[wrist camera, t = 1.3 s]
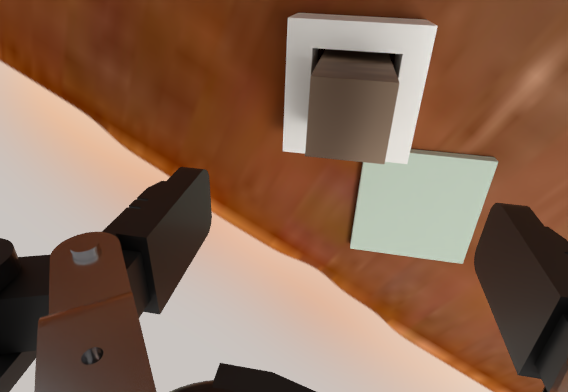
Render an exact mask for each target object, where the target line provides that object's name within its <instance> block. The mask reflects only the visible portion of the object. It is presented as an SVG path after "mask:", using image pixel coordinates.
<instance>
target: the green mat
mask: <svg viewBox="0 0 568 392" xmlns="http://www.w3.org/2000/svg"><path fill="white" fill-rule="evenodd" d="M497 164H498V161H497V160H496V158H495V157H487V156H477V155H467V154H457V153H447V152H437V151H426V150H416V149H411V150H410V154H409V159H408V163H407V164H400V163H391V162H385V164H376V163H366V162H363V164H362V170H361V177H360V183H359V190H358V196H357V203H356V209H355V216H354V222H353V229H352V235H351V242H350V248H351V249H358V250H366V251H373V252H380V253H387V254H395V255H402V256H409V257H417V258H424V259H431V260H439V261H446V262H453V263H460V264H463V261H464V258H465V256H466V253H467V250H468V247H469V244H470V241H471V238H472V236H473V233H474V230H475V227H476V224H477V221H478V218H479V216H480V213H481V210H482V207H483V204H484V201H485V198H486V196H487V193H488V190H489V187H490V184H491V181H492V178H493V176H494V173H495V170H496V167H497Z"/></svg>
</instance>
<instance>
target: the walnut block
mask: <svg viewBox="0 0 568 392" xmlns="http://www.w3.org/2000/svg"><path fill="white" fill-rule="evenodd" d="M398 89H399V80H398V78H397V75H396V72H395V70H394V67H393V64H392V62H391V59H390V56H389V54H388V53H380V52H365V51H350V50H335V49H325V51H324V53H323V55H322V56H321V58H320V60H319V62H318V64H317V65H316V67H315V69H314V71H313V73H312V75H311V78H310V92H309V106H308V120H307V135H306V149H305V156H310V157H319V158H329V159H338V160H348V161H357V162H366V163H376V164H385V159H386V153H387V148H388V142H389V137H390V132H391V126H392V121H393V116H394V110H395V105H396V99H397V94H398Z"/></svg>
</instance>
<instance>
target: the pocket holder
mask: <svg viewBox="0 0 568 392" xmlns="http://www.w3.org/2000/svg"><path fill="white" fill-rule="evenodd" d="M437 27H438V26H437V25H435V24H433V23H432V22H430V21H428V20H424V19H406V18H387V17H369V16H350V15H332V14H313V13H296V14H294V15H292V16H290V17H288V25H287V51H286V77H285V104H284V130H283V151H286V152H296V153H305V149H306V135H307V120H308V106H309V92H310V78H311V75H312V73H313V71H314V69H315V67H316V65H317V63H318V51H319V48H320V49H335V50H350V51H365V52H380V53H395V58H394V64H393V67H394V70H395V72H396V75H397V78H398V80H399V89H398V94H397V99H396V105H395V110H394V116H393V121H392V126H391V132H390V137H389V142H388V148H387V153H386V159H385V162H391V163H400V164H407V163H408V159H409V154H410V150H411V145H412V141H413V136H414V132H415V127H416V122H417V118H418V113H419V109H420V104H421V100H422V95H423V90H424V86H425V81H426V77H427V72H428V68H429V63H430V59H431V54H432V49H433V45H434V40H435V36H436V31H437Z"/></svg>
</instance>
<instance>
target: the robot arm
mask: <svg viewBox="0 0 568 392" xmlns="http://www.w3.org/2000/svg"><path fill="white" fill-rule="evenodd" d="M211 218H212V215H211V199H210V184H209V175H208V172H207V170H205V169H196V168H187V167H180V168H179V169H178V170H177V171H176V172H175V173H174V174H173V175H172V176H171V177H170V178H169V179H168V180H167V181H161V182H159V183H157V184H155V185H153V186H151V187H149V188H147V189H146V190H145V191H144V192H143V193H142V194H141V195H140V196H139V197H138V198H137V200H134V201H133V202H132V203H131V204H130V205H129V208H126V209H125V210H124V211H123V212H122V213H121V214H120V215H119V216H118V217H117V218H116V219H115V220H114V221H113V222H112V223H111V224H110V225H108V226H107V228H106V229H104V230H103V231H102V232H89V233H84V234H80V235H77V236H74V237H72V238H69V239H67V240H65V241H64V242H62V243H61V244H59V245H58V246H57V247H56V248H55V249H54V250H53V251H52V253H51V255H42V256H29V257H18V256H17V254H16V252H15V249H14V246H13V244H12V243H11V242H10V241H8V240H5V239H1V238H0V392H9V391H10V390H11V389H12V388H13V386H14V385H15V384H16V383H17V381H18V380H19V379H20V377H21V376H22V375H23V373H24V372H25V371H26V370H27V368H28V367H29V366H30V365H31V363H32V362H33V361H34V360H35V358H36V372H35V392H156V388H155V384H154V380H153V376H152V372H151V368H150V364H149V359H148V355H147V351H146V347H145V343H144V339H143V334H142V330H141V326H140V322H139V317H140V315H141V314H142V313H143V312H149V313H155V314H160V313H161V312H162V310H163V308H164V307H165V305H166V303H167V302H168V300H169V298H170V297H171V295H172V293H173V292H174V290H175V288H176V287H177V285H178V283H179V282H180V280H181V278H182V276H183V275H184V273H185V272H186V270H187V268H188V266H189V265H190V263H191V262H192V260H193V258H194V257H195V255H196V253H197V251H198V250H199V248H200V247H201V245H202V243H203V242H204V240H205V238H206V237H207V235H208V233H209V229H210V226H211ZM474 265H475V271H476V274H477V276H478V279H479V281H480V283H481V286H482V288H483V291H484V293H485V296H486V298H487V300H488V303H489V305H490V308H491V310H492V313H493V315H494V318H495V320H496V322H497V325H498V327H499V330H500V332H501V335H502V337H503V339H504V342H505V344H506V347H507V349H508V352H509V354H510V357H511V359H512V361H513V364H514V366H515V369H516V371H517V374H518V375H521V376H527V377H533V378H539V379H542V381H543V383H544V385H545V387H544V388H543V390H542V391H541V392H568V241H567V240H566V239H565V238H563V237H562V236H560V235H559V234H557V233H556V232H555V231H553V230H552V229H550V228H549V227H544V225H543V224H542V223H541V221H540V220H539V219H538V218H537V216H536V215H535V214H534V212H533V211H532V210H531V209H530V208H529V207H528V206H521V205H512V204H504V203H496V204H494V205H493V206H492V208H491V210H490V212H489V215H488V218H487V221H486V223H485V226H484V229H483V232H482V234H481V237H480V240H479V243H478V245H477V248H476V252H475V258H474ZM171 392H316V391H313V390H311V389H309V388H307V387H304V386H302V385H300V384H297V383H295V382H293V381H290V380H289V379H286V378H284V377H282V376H280V375H277V374H275V373H273V372H267V371H262V370H256V369H250V368H245V367H240V366H234V365H228V364H223V363H220V365H219V368H218V370H217V373H216V376H215V378H214V380H212V381H203V382H198V383H193V384H190V385H187V386H183V387H180V388H178V389H175V390H173V391H171Z"/></svg>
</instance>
